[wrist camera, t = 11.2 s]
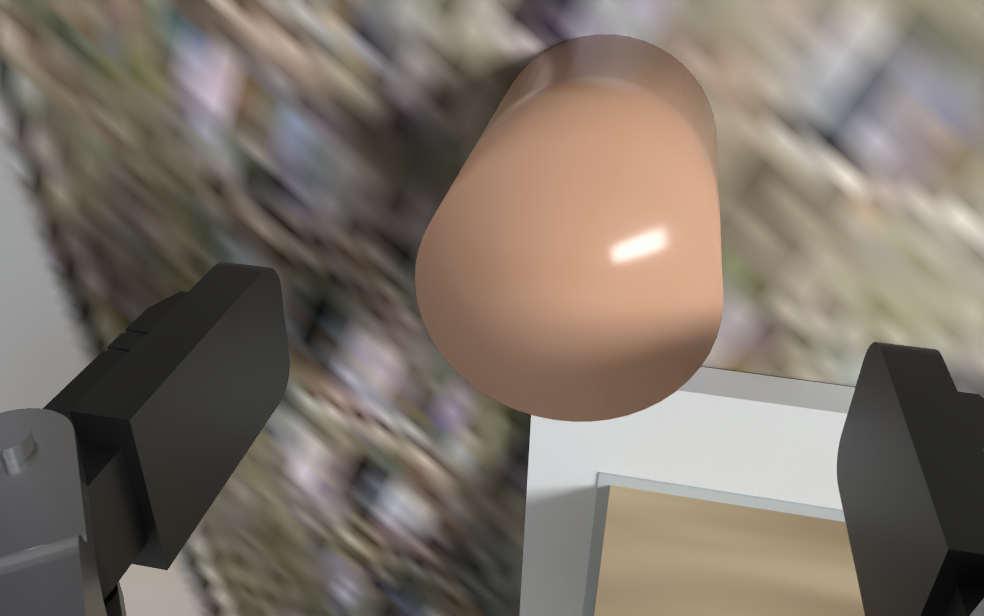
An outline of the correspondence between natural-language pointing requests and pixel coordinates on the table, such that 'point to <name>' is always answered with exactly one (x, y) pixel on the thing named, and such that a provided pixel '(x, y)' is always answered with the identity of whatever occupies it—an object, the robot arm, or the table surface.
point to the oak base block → (721, 560)
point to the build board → (675, 469)
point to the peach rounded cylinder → (581, 237)
